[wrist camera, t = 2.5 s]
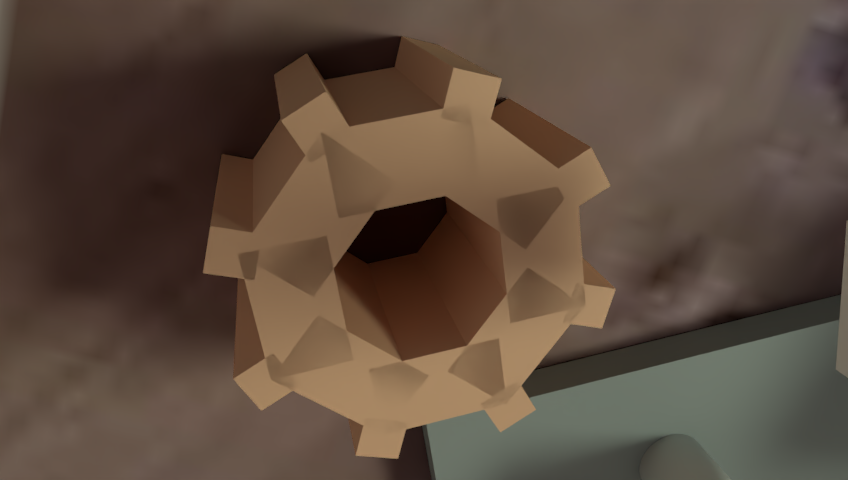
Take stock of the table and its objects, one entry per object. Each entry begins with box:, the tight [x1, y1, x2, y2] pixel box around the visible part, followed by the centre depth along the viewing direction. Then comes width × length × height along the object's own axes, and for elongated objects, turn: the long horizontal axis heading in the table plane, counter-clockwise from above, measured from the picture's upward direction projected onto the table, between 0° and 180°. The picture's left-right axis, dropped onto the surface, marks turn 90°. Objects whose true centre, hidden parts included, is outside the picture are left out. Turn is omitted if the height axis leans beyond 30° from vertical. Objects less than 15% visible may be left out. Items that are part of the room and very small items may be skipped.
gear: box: [203, 36, 616, 459], centre depth 17 cm, size 8×8×5 cm
